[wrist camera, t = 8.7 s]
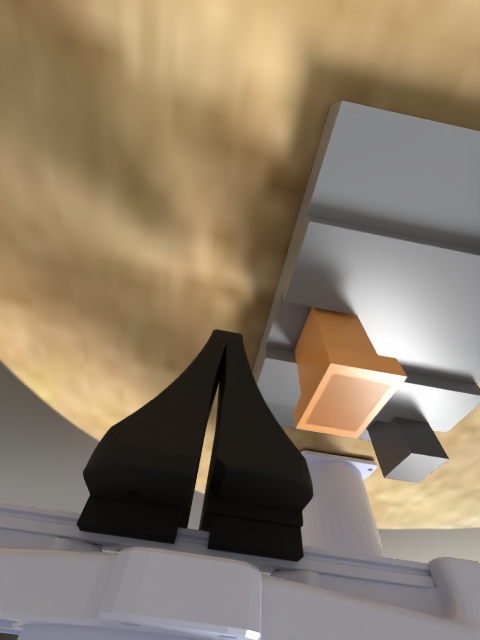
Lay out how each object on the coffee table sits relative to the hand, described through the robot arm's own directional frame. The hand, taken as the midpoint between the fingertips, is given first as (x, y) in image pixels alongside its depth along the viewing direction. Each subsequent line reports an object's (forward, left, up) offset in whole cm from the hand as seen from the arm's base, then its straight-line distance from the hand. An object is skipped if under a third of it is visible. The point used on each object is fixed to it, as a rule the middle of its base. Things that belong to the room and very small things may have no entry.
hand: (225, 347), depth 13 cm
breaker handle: (0, -5, -3) cm, 6 cm away
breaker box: (0, -9, -5) cm, 11 cm away
